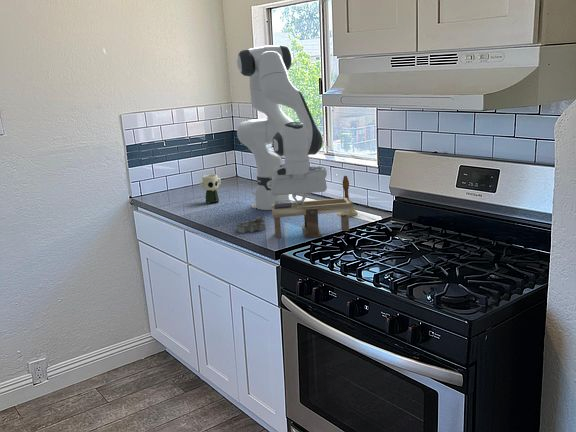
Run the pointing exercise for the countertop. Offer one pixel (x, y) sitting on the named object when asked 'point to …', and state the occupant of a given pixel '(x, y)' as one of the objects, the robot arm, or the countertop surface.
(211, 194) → the spiky head figurine
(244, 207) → the countertop surface
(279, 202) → the steel block
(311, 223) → the beam stand
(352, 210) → the hand bell
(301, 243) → the countertop surface
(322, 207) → the beam
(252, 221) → the egg carton
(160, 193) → the countertop surface
